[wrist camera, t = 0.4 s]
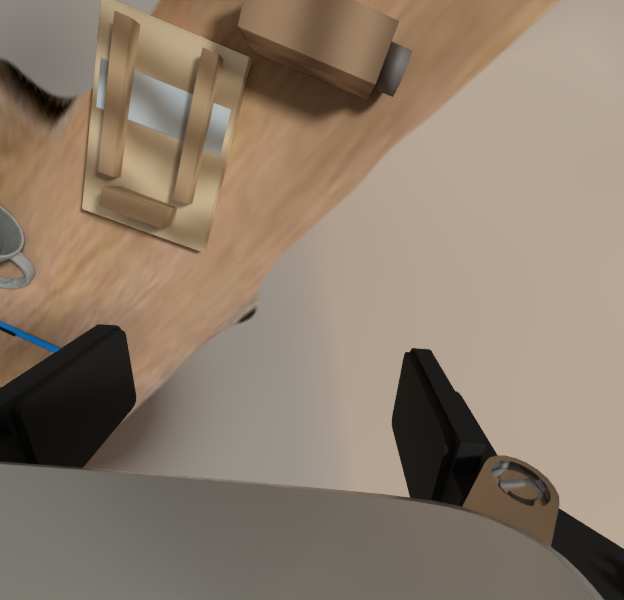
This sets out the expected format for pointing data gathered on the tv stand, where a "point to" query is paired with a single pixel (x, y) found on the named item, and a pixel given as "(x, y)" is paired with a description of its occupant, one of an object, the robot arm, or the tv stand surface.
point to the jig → (160, 125)
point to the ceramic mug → (13, 250)
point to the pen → (27, 337)
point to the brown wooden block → (328, 42)
